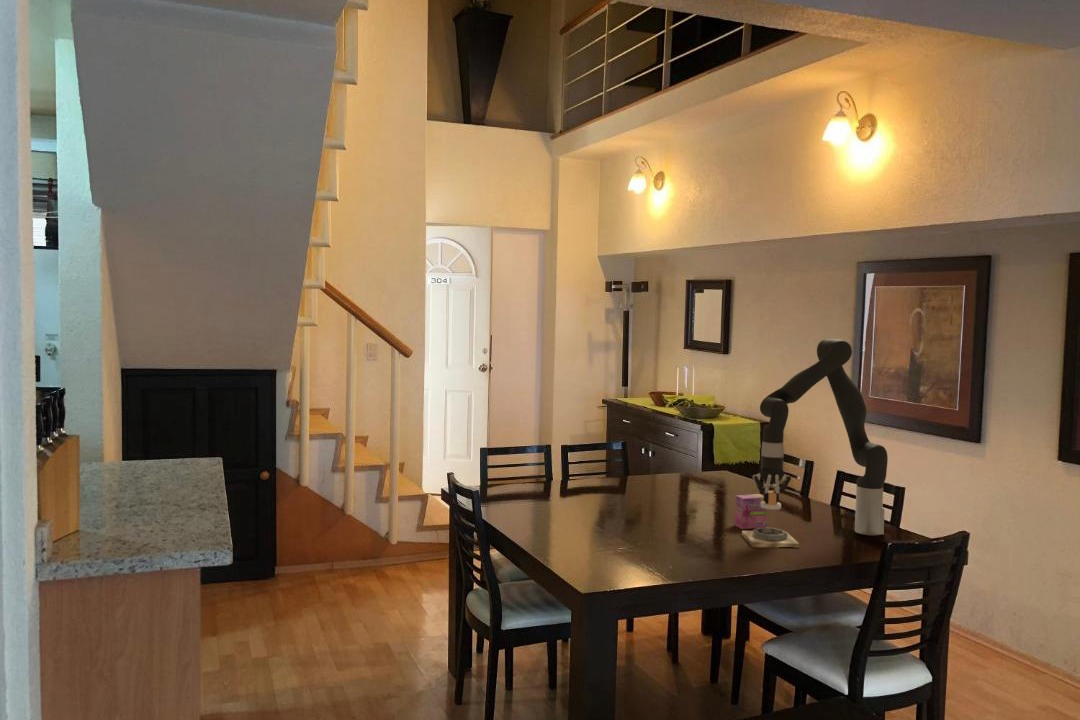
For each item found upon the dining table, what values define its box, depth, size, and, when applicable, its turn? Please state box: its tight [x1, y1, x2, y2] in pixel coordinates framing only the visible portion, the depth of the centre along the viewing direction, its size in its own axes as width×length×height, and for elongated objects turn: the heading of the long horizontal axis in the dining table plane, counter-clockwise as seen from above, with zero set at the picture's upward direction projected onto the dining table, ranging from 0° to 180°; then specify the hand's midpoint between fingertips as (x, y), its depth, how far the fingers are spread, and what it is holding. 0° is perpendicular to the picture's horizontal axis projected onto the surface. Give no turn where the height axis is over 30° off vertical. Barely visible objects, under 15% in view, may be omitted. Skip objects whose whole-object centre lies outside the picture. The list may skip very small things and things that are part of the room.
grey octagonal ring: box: [752, 526, 788, 541], centre depth 304 cm, size 11×11×2 cm
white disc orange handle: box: [760, 490, 782, 511], centre depth 303 cm, size 7×7×6 cm
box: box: [734, 493, 768, 530], centre depth 324 cm, size 10×6×12 cm, turn 105°
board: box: [741, 530, 800, 549], centre depth 304 cm, size 16×16×2 cm
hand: (770, 503), depth 303 cm, fingers closed on white disc orange handle, 2 cm apart
